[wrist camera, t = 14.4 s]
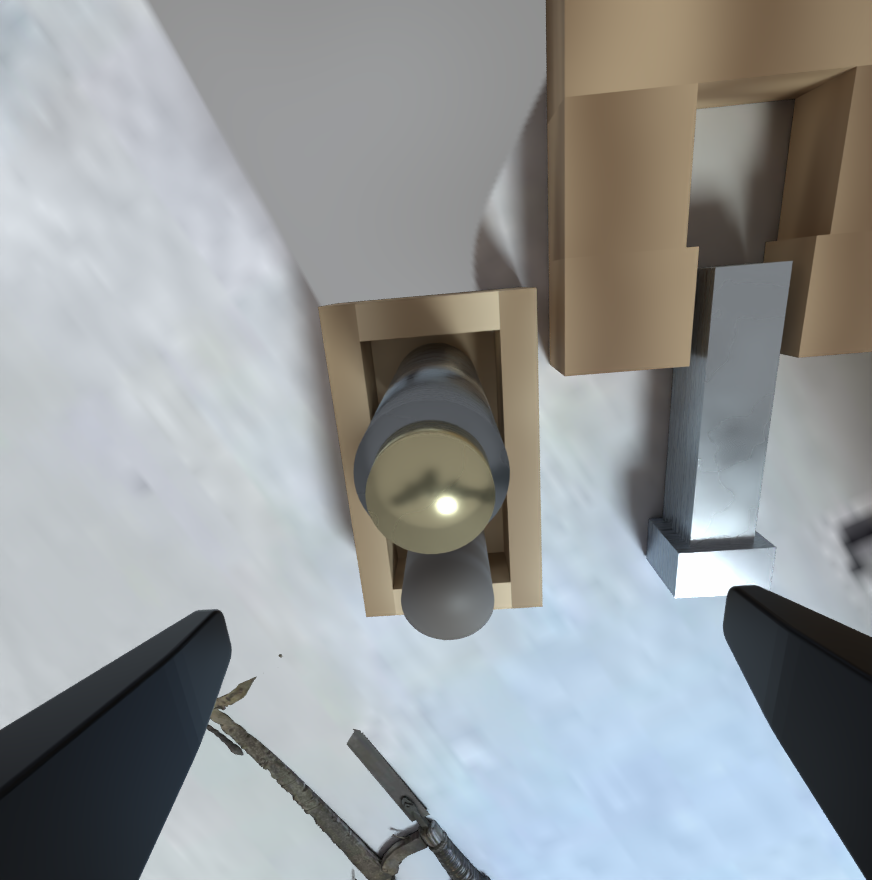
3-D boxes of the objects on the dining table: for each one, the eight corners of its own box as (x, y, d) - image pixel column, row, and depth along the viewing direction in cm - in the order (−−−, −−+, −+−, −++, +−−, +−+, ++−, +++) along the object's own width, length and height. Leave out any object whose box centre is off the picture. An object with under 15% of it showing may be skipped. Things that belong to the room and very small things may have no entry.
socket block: (942, -61, 14) (1040, -129, 12) (865, 338, 18) (928, 347, 16) (545, -15, 15) (564, -70, 13) (549, 364, 19) (564, 376, 16)
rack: (522, 287, 18) (565, 289, 11) (529, 563, 22) (565, 683, 15) (338, 303, 18) (278, 314, 12) (376, 573, 22) (347, 694, 15)
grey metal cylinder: (476, 339, 18) (514, 406, 8) (480, 421, 19) (520, 566, 9) (390, 346, 18) (331, 420, 8) (399, 427, 19) (356, 577, 9)
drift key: (764, 261, 17) (821, 258, 15) (728, 553, 21) (769, 592, 19) (663, 271, 18) (702, 268, 15) (646, 558, 21) (675, 598, 19)
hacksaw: (499, 880, 29) (502, 910, 28) (360, 933, 31) (357, 964, 30) (256, 593, 23) (244, 613, 22) (100, 679, 25) (79, 703, 23)
